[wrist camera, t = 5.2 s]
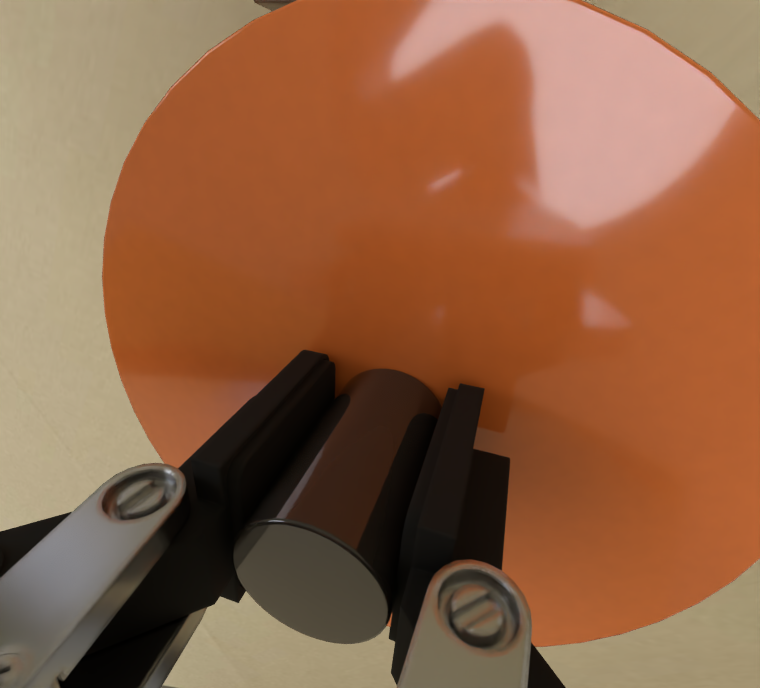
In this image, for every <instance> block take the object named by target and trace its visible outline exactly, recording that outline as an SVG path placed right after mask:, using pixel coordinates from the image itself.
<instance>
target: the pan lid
mask: <svg viewBox="0 0 760 688" xmlns="http://www.w3.org/2000/svg"><path fill="white" fill-rule="evenodd" d="M102 283H103V297H104V310H105V317H106V322H107V328H108V333H109V338H110V344H111V348H112V352H113V355H114V358H115V362H116V365H117V368H118V371H119V375H120V378H121V381H122V383H123V386H124V388H125V391H126V393H127V396H128V398H129V400H130V403H131V405H132V408H133V410H134V412H135V414H136V416H137V418H138V420H139V422H140V423H141V425H142V427H143V429H144V431H145V433H146V435H147V437H148V439H149V440H150V442H151V444H152V445H153V447H154V448H155V450H156V451H157V453H158V454H159V456H160V457H161V459H162V461H163V462H164V464H169V465H171V466H174V467H176V468H179V467H180V466H181V465H182V464H183V463H184V462H185V461H186V460H187V459H188V458H189V457H190V456H191V455H192V454H194V453H195V452H196V451H197V450H198V449H199V448H200V447H201V446H202V445H203V444H204V443H205V442H206V441H207V440H208V439H209V438H210V437H211V436H212V435H213V434H214V433H215V432H216V431H217V430H218V429H219V428H220V427H221V426H223V425H224V424H225V423H226V422H227V421H228V420H229V419H230V418H231V417H232V416H233V415H234V414H235V413H236V412H237V411H238V410H239V409H240V408H241V407H242V406H243V405H244V404H245V403H246V402H247V401H248V400H249V399H251V398H252V397H254V396H256V395H257V394H258V393H259V392H260V391H261V390H262V389H263V388H264V387H265V386H266V385H267V384H268V383H269V382H270V381H271V380H272V379H273V378H274V377H275V376H276V375H277V374H278V373H279V372H280V371H281V370H282V369H283V368H284V367H286V366H287V365H288V364H289V363H290V362H291V361H292V360H293V359H294V358H295V357H296V356H297V355H298V354H299V353H300V352H301V351H302V350H309V351H314V352H319V353H323V354H327V355H328V357H329V361H331V362H334V363H335V368H336V371H335V400H334V401H333V403H332V404H331V405H330V407H329V408H328V409H327V411H326V412H325V414H324V415H323V416H322V418H321V419H320V420H319V422H318V423H317V425H316V426H315V427H314V429H313V430H312V431H311V433H310V434H309V436H308V437H307V438H306V440H305V441H304V442H303V444H302V445H301V447H300V448H299V449H298V451H297V452H296V453H295V455H294V456H293V458H292V459H291V460H290V462H289V463H288V464H287V466H286V467H285V469H284V470H283V471H282V473H281V474H280V475H279V477H278V478H277V480H276V481H275V482H274V484H273V485H272V486H271V488H270V489H269V491H268V492H267V493H266V495H265V496H264V497H263V499H262V500H261V502H260V503H259V504H258V506H257V507H256V508H255V510H254V511H253V513H252V514H251V515H250V517H249V518H248V520H247V521H246V522H245V524H244V525H243V526H242V528H241V529H240V531H239V532H238V533H237V535H236V537H235V539H234V542H233V546H232V562H233V567H234V570H235V572H236V575H237V577H238V579H239V581H240V582H241V584H242V585H243V587H244V588H245V590H246V591H247V592H248V594H249V595H250V596H251V597H252V598H253V599H254V600H255V602H256V603H257V604H258V605H260V606H261V607H262V608H263V609H264V610H265V611H266V612H268V613H269V614H270V615H271V616H273V617H274V618H276V619H277V620H278V621H280V622H281V623H283V624H285V625H286V626H288V627H290V628H292V629H294V630H296V631H298V632H300V633H302V634H305V635H307V636H310V637H313V638H316V639H319V640H323V641H326V642H332V643H340V644H355V643H361V642H365V641H368V640H370V639H372V638H375V637H376V636H377V635H379V634H380V633H381V632H382V631H383V630H384V628H385V627H386V626H389V627H390V625H391V617H392V611H393V607H394V604H395V600H396V596H397V592H398V583H397V571H398V563H399V556H400V548H401V540H402V533H403V528H404V523H405V519H406V515H407V512H408V508H409V505H410V502H411V499H412V496H413V493H414V490H415V487H416V484H417V481H418V478H419V475H420V472H421V469H422V466H423V463H424V460H425V457H426V454H427V451H428V448H429V445H430V442H431V439H432V436H433V433H434V430H435V427H436V424H437V421H438V418H439V415H440V412H441V409H442V406H443V403H444V400H445V397H446V394H447V391H448V388H454V389H458V387H459V384H460V383H462V384H466V385H471V386H475V387H480V388H485V390H484V395H483V401H482V406H481V411H480V416H479V421H478V426H477V431H476V437H475V442H474V447H473V449H477V450H481V451H485V452H489V453H493V454H497V455H501V456H505V457H509V458H510V472H509V485H508V498H507V511H506V524H505V537H504V550H503V563H502V571H503V572H504V573H505V574H506V575H507V576H509V577H510V578H511V579H512V580H513V581H514V582H515V583H516V584H517V586H518V587H519V588H520V590H521V591H522V593H523V594H524V595H525V598H526V600H527V603H528V605H529V608H530V610H531V619H532V636H531V642H532V644H533V645H534V646H535V647H547V646H556V645H565V644H574V643H583V642H587V641H592V640H597V639H602V638H606V637H611V636H616V635H620V634H624V633H627V632H630V631H633V630H636V629H639V628H642V627H645V626H648V625H651V624H654V623H657V622H660V621H662V620H664V619H666V618H668V617H671V616H673V615H675V614H677V613H679V612H681V611H683V610H686V609H688V608H690V607H692V606H694V605H696V604H698V603H700V602H701V601H703V600H705V599H706V598H708V597H709V596H711V595H712V594H714V593H715V592H717V591H719V590H720V589H722V588H723V587H725V586H726V585H728V584H730V583H731V582H733V581H734V580H736V579H737V578H738V577H739V576H740V575H741V574H743V573H744V572H745V571H746V570H747V569H748V568H749V567H751V566H752V565H753V564H754V563H755V562H756V561H758V560H759V559H760V119H759V118H758V117H757V116H756V115H755V114H753V113H752V112H751V111H750V110H749V109H748V108H747V107H746V106H745V105H744V104H743V103H742V102H741V101H740V100H739V99H738V98H737V97H736V96H735V95H734V94H733V93H732V92H731V91H730V90H729V89H728V88H727V87H726V86H725V85H724V84H723V83H722V82H721V81H720V80H719V79H717V78H716V77H715V76H714V75H713V74H712V73H711V72H710V71H708V70H707V69H705V68H704V67H703V66H701V65H700V64H698V63H697V62H695V61H694V60H692V59H691V58H689V57H688V56H686V55H685V54H683V53H682V52H680V51H679V50H677V49H676V48H674V47H673V46H671V45H670V44H668V43H667V42H665V41H664V40H663V39H661V38H660V37H658V36H657V35H655V34H654V33H652V32H651V31H649V30H648V29H646V28H643V27H641V26H639V25H637V24H634V23H632V22H630V21H628V20H625V19H623V18H621V17H619V16H616V15H614V14H612V13H610V12H608V11H605V10H603V9H601V8H599V7H596V6H594V5H592V4H590V3H587V2H585V1H583V0H296V1H294V2H291V3H289V4H287V5H285V6H283V7H281V8H278V9H276V10H274V11H272V12H270V13H267V14H265V15H263V16H261V17H259V18H257V19H254V20H252V21H251V22H249V23H248V24H247V25H245V26H244V27H242V28H241V29H239V30H238V31H236V32H235V33H233V34H232V35H231V36H229V37H228V38H226V39H225V40H223V41H222V42H220V43H219V44H217V45H216V46H214V47H213V48H212V49H210V50H209V51H207V52H206V53H205V54H204V55H203V56H202V57H201V58H200V59H199V60H198V61H197V62H196V63H195V64H194V65H193V66H192V67H191V68H190V69H189V70H188V71H187V72H186V73H185V74H184V75H183V76H182V77H180V78H179V79H178V80H177V81H176V82H175V83H174V84H173V85H172V86H171V88H170V89H169V90H168V92H167V93H166V94H165V96H164V97H163V98H162V100H161V101H160V103H159V104H158V105H157V107H156V108H155V109H154V111H153V112H152V113H151V115H150V116H149V117H148V119H147V120H146V122H145V123H144V125H143V127H142V128H141V130H140V132H139V134H138V136H137V138H136V140H135V142H134V144H133V146H132V148H131V150H130V152H129V154H128V156H127V158H126V159H125V161H124V164H123V167H122V170H121V173H120V176H119V179H118V182H117V185H116V188H115V191H114V194H113V197H112V200H111V204H110V209H109V215H108V220H107V226H106V231H105V236H104V248H103V268H102Z"/></svg>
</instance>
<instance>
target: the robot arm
mask: <svg viewBox="0 0 760 688" xmlns="http://www.w3.org/2000/svg"><path fill="white" fill-rule="evenodd" d="M335 371H336V368H335V363H334V362H331V361H329V357H328V355H327V354H323V353H319V352H314V351H309V350H302V351H301V352H300V353H299V354H298V355H297V356H296V357H295V358H294V359H293V360H292V361H291V362H290V363H289V364H288V365H287V366H286V367H284V368H283V369H282V370H281V371H280V372H279V373H278V374H277V375H276V376H275V377H274V378H273V379H272V380H271V381H270V382H269V383H268V384H267V385H266V386H265V387H264V388H263V389H262V390H261V391H260V392H259V393H258V394H257V395H256V396H254V397H252V398H251V399H249V400H248V401H247V402H246V403H245V404H244V405H243V406H242V407H241V408H240V409H239V410H238V411H237V412H236V413H235V414H234V415H233V416H232V417H231V418H230V419H229V420H228V421H227V422H226V423H225V424H224V425H223V426H221V427H220V428H219V429H218V430H217V431H216V432H215V433H214V434H213V435H212V436H211V437H210V438H209V439H208V440H207V441H206V442H205V443H204V444H203V445H202V446H201V447H200V448H199V449H198V450H197V451H196V452H195V453H194V454H192V455H191V456H190V457H189V458H188V459H187V460H186V461H185V462H184V463H183V464H182V465H181V466H180V467H179V468H176V467H174V466H171V465H169V464H162V463H150V464H142V465H138V466H135V467H131V468H128V469H126V470H124V471H122V472H120V473H118V474H116V475H114V476H113V477H112V478H110V479H109V480H108V481H106V482H105V483H104V484H102V485H101V486H100V487H99V488H98V489H97V490H96V491H95V492H94V493H93V494H92V495H90V496H89V497H88V498H87V499H86V500H85V501H84V502H83V503H82V504H81V505H79V506H78V507H77V508H76V509H75V510H74V511H73V512H70V513H66V514H63V515H59V516H55V517H52V518H48V519H44V520H41V521H37V522H34V523H30V524H26V525H23V526H19V527H16V528H12V529H8V530H5V531H1V532H0V688H161V687H162V685H163V683H164V682H165V680H166V678H167V677H168V675H169V673H170V672H171V670H172V668H173V667H174V665H175V663H176V662H177V660H178V658H179V656H180V655H181V653H182V651H183V650H184V648H185V646H186V645H187V643H188V641H189V640H190V638H191V636H192V635H193V633H194V631H195V630H196V628H197V626H198V625H199V623H200V621H201V620H202V618H203V615H204V613H205V611H206V609H207V607H209V606H211V605H214V604H215V603H216V601H217V600H218V598H219V597H220V596H221V597H224V598H226V599H229V600H232V601H234V602H237V603H239V601H240V600H241V598H242V596H243V595H244V593H245V592H246V590H245V588H244V587H243V585H242V584H241V582H240V581H239V579H238V577H237V575H236V572H235V570H234V567H233V562H232V546H233V542H234V539H235V537H236V535H237V533H238V532H239V531H240V529H241V528H242V526H243V525H244V524H245V522H246V521H247V520H248V518H249V517H250V515H251V514H252V513H253V511H254V510H255V508H256V507H257V506H258V504H259V503H260V502H261V500H262V499H263V497H264V496H265V495H266V493H267V492H268V491H269V489H270V488H271V486H272V485H273V484H274V482H275V481H276V480H277V478H278V477H279V475H280V474H281V473H282V471H283V470H284V469H285V467H286V466H287V464H288V463H289V462H290V460H291V459H292V458H293V456H294V455H295V453H296V452H297V451H298V449H299V448H300V447H301V445H302V444H303V442H304V441H305V440H306V438H307V437H308V436H309V434H310V433H311V431H312V430H313V429H314V427H315V426H316V425H317V423H318V422H319V420H320V419H321V418H322V416H323V415H324V414H325V412H326V411H327V409H328V408H329V407H330V405H331V404H332V403H333V401H334V400H335ZM484 390H485V388H480V387H475V386H471V385H466V384H462V383H460V384H459V387H458V389H454V388H448V391H447V394H446V397H445V400H444V403H443V406H442V409H441V412H440V415H439V418H438V421H437V424H436V427H435V430H434V433H433V436H432V439H431V442H430V445H429V448H428V451H427V454H426V457H425V460H424V463H423V466H422V469H421V472H420V475H419V478H418V481H417V484H416V487H415V490H414V493H413V496H412V499H411V502H410V505H409V508H408V512H407V515H406V519H405V523H404V528H403V533H402V540H401V548H400V556H399V563H398V571H397V583H398V592H397V596H396V600H395V604H394V607H393V611H392V617H391V625H390V633H389V639H390V640H393V641H395V648H394V655H393V662H392V669H391V674H392V676H393V678H394V680H395V682H396V684H397V688H565V686H564V685H563V684H562V682H561V681H560V680H559V678H558V677H557V676H556V674H555V673H554V672H553V670H552V669H551V668H550V666H549V665H548V664H547V662H546V661H545V660H544V658H543V657H542V656H541V654H540V653H539V652H538V650H537V649H536V648H535V646H534V645H533V644H532V642H531V636H532V619H531V610H530V608H529V605H528V603H527V600H526V598H525V595H524V594H523V593H522V591H521V590H520V588H519V587H518V586H517V584H516V583H515V582H514V581H513V580H512V579H511V578H510V577H509V576H507V575H506V574H505V573H504V572H503V571H502V563H503V550H504V537H505V524H506V511H507V498H508V485H509V472H510V458H509V457H505V456H501V455H497V454H493V453H489V452H485V451H481V450H477V449H473V447H474V442H475V437H476V431H477V426H478V421H479V416H480V411H481V406H482V401H483V395H484Z"/></svg>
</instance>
